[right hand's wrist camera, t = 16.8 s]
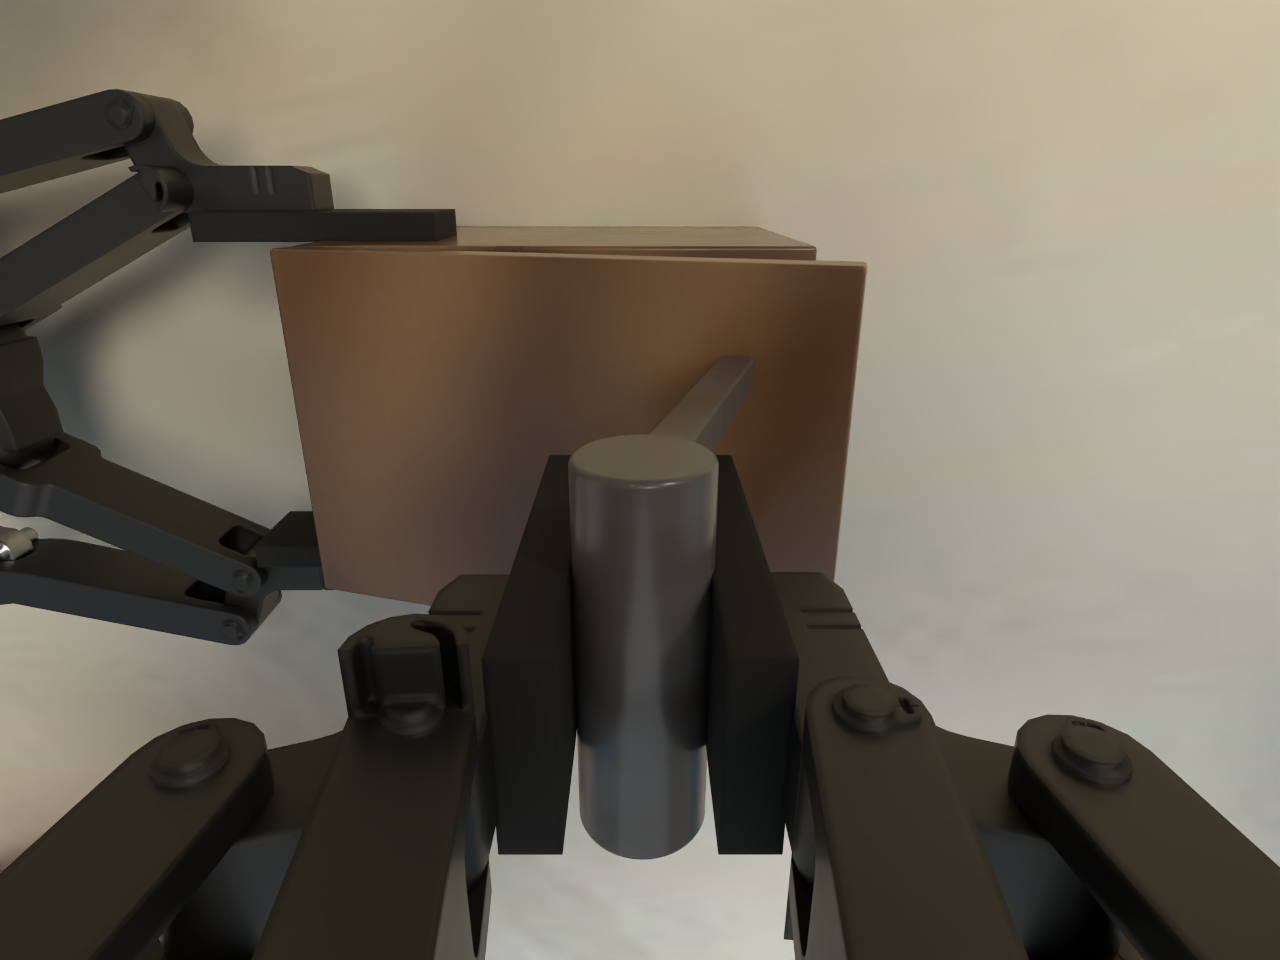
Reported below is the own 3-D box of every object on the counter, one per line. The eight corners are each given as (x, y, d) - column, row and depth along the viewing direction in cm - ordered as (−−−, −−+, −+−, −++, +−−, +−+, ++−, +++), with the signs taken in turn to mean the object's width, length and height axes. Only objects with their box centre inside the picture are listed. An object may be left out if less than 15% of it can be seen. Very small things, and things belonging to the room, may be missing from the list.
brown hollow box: (759, 226, 28) (817, 246, 19) (746, 461, 31) (791, 570, 22) (398, 226, 28) (290, 245, 19) (423, 462, 31) (341, 572, 22)
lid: (868, 261, 15) (848, 342, 7) (827, 650, 19) (784, 992, 11) (295, 246, 19) (-124, 288, 11) (345, 573, 22) (49, 785, 14)
